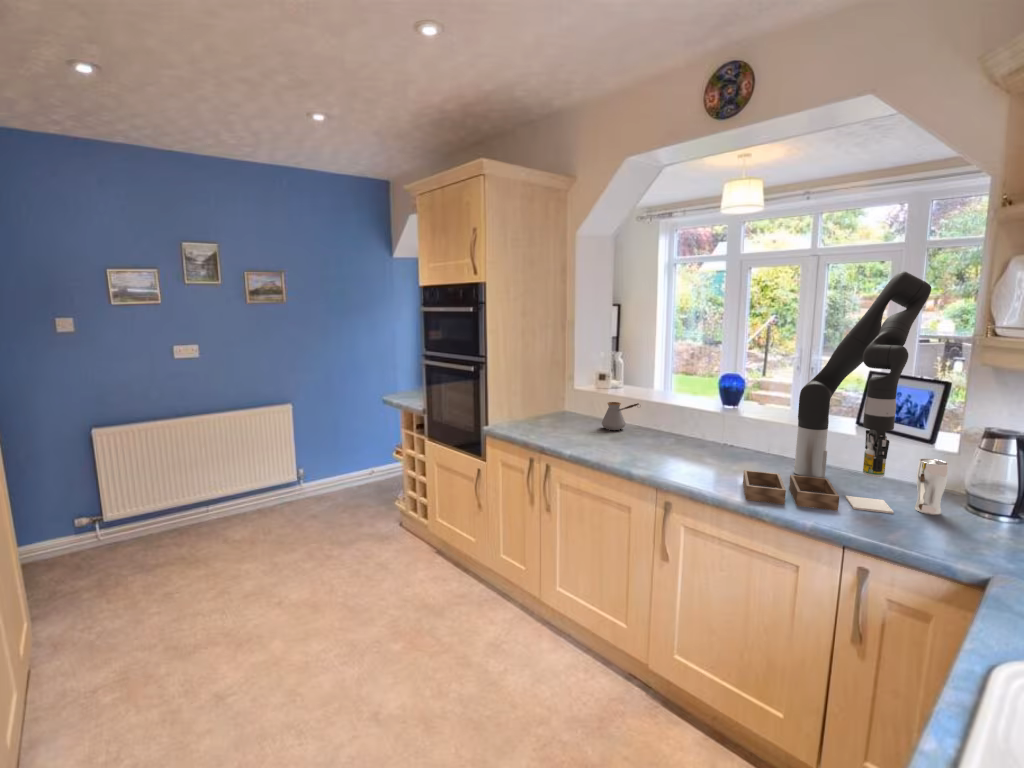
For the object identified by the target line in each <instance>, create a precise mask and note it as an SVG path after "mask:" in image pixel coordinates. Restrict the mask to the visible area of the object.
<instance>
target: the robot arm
mask: <svg viewBox="0 0 1024 768" xmlns="http://www.w3.org/2000/svg"><path fill="white" fill-rule="evenodd" d="M931 292H932V285H931V284H930V283H928V282H927V281H925V280H923V279H921V278H920V277H917V276H915V275H914V274H911V273H909V272H908V271H904V270H903V271H900V272H899V271H898V272H897V273H896V274H895V275H893V277H891V279H890V280H889V281H888V282H887V284H886V285H885V286H884V287H883V289H882V290H881V292H879V295H878V296H877V297H876V299H875V300H874V302H873V303H872V304H871V305H870V306H869V308H868V309H867V311H866V312H865V313H864V315H862V317H861V318H860V319H859V320H858V322H857V323H855V325H854V326H853V327H852V328H851V330H850V331H849V332H848V333H847V334H846V335H845V337H843V339H842V340H841V341H840V343H839V344H837V345H838V346H836V348H835V350H834V351H833V353H832V354H831V356H830V358H829V359H828V361H827V362H826V364H825V365H824V367H822V369H821V370H820V371H819V372H818V373H817V374H816V375H815V376H814V377H813V378H812V379H811V380H810V381H809V382H807V383H806V384H805V385H804V386H803V387H802V388H801V390H800V392H799V399H798V412H797V420H798V421H797V431H796V433H797V434H796V442H795V443H796V445H795V446H796V447H795V459H794V466H793V467H794V468H793V469H794V470H793V472H794V475H796V476H806V477H816V478H825V479H826V471H827V468H826V467H827V458H828V450H827V442H828V441H827V440H828V433H829V422H830V421H829V419H830V418H829V416H830V415H829V414H830V406H831V405H830V404H831V399H832V397H833V396H834V393H835V392H836V391H837V389H838V388H839V387H840V386H841V383H842V382H843V381H844V380H845V379H846V377H848V375H850V374H851V373H852V372H853V371H855V370H856V369H857V368H859V366H861V365H862V364H863V363H864V365H865V366H866V367H867V368H870V369H875V370H876V369H877V370H878V369H879V370H890V371H889V373H888V374H887V375H883V376H881V375H879V376H873V377H870V378H869V380H868V382H867V390H866V399H865V403H864V409H863V410H864V412H863V421H862V426H863V427H864V429H866V430H865V442H864V443H865V446H864V449H865V450H866V449H868V448H869V447H868V442H871V450H872V451H873V468H872V470H873V471H875V472H881V471H882V465H883V460H884V459H886V460H887V459H888V458H887V457H888V452H889V448H890V447H889V446H890V440H889V439H888V436H886V432H890V431H891V432H892V431H893V430H894V428H895V421H896V411H897V391H898V385H899V380H900V378H901V375H902V373H903V370H904V369H905V367H906V365H907V363H908V360H909V352H908V349H907V348H906V347H905V344H906V343H907V339H908V336H909V333H910V330H911V328H912V326H913V323H915V320H916V319H917V318H918V315H919V314H920V313H921V311H922V309H923V308H924V306H925V304H926V303H927V301H928V299H929V297H930V295H931ZM890 301H891V302H894V303H895V304H897V305H898V306H901V307H903V308H905V309H904V310H902V311H899V312H897V313H894V314H891V315H890V316H888V317H887V318H886V319H885V320H884V321H883V317H884V313H885V310H886V308H887V306H888V304H889V303H890ZM882 322H883V323H882ZM875 447H877V448H875ZM879 452H881V455H880V454H879Z"/></svg>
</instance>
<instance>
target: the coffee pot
mask: <svg viewBox="0 0 1024 768" xmlns="http://www.w3.org/2000/svg"><path fill="white" fill-rule="evenodd" d="M606 405H608V408H607V410H606V412H605V413H604V416H603V419H602V420H601V425H602V427H603V428H606V429H610V430H619V431H621V430H622V429H624V428H625V426H626V421H625V419H624V416H623V414H622V411H623V410H629V409H632V408H634V407H637V408H638V409H639V408H641V404H640V403H639V402H638V403H633V404H630V405H627V406H625V407H623V408H621V405H622V403H621V402H618V401H609V402H607V404H606ZM606 429H605V430H606ZM620 429H621V430H620ZM610 430H609V431H610Z"/></svg>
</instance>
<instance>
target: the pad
mask: <svg viewBox="0 0 1024 768" xmlns="http://www.w3.org/2000/svg"><path fill="white" fill-rule="evenodd" d="M845 499H846V501H847V502H848V504H849V505H850V507H852V509H853V510H860V511H868V512H877V513H884V514H885V513H886V514H891V515H892V514H895V513H894V510H893V509H892V508H891V507H890V506H889V505H888V503H886V501H885V500H884V499H877V498H870V497H868V498H867V497H861V496H860V497H859V496H850V495H845Z"/></svg>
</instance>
